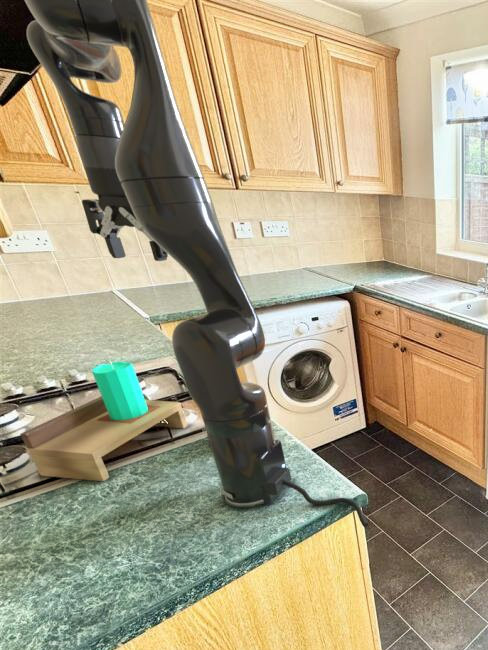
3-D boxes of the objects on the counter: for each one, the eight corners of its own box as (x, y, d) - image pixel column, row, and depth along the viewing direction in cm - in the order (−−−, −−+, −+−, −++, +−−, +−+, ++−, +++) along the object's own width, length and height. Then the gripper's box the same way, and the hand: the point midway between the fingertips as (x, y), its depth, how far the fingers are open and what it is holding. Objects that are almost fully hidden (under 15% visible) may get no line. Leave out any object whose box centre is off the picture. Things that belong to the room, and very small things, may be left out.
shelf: (187, 425, 94) (176, 390, 91) (103, 481, 76) (85, 439, 72) (136, 421, 95) (123, 385, 91) (41, 475, 77) (19, 433, 73)
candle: (151, 413, 87) (133, 359, 82) (113, 423, 83) (91, 367, 78) (144, 403, 90) (125, 351, 85) (107, 413, 86) (85, 358, 81)
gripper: (166, 169, 78) (189, 258, 85) (94, 165, 79) (122, 254, 86) (131, 167, 72) (159, 264, 78) (51, 162, 72) (86, 259, 79)
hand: (140, 259), depth 82 cm, fingers open, 8 cm apart
